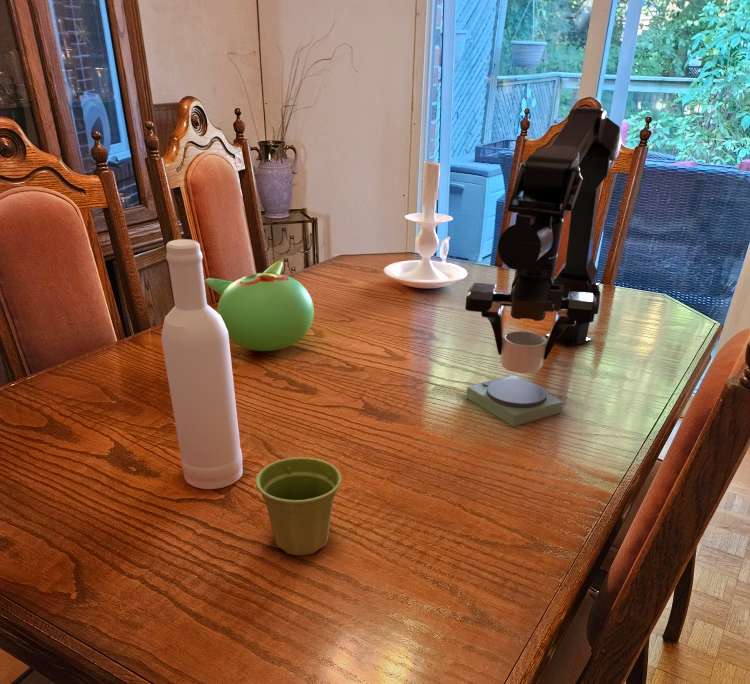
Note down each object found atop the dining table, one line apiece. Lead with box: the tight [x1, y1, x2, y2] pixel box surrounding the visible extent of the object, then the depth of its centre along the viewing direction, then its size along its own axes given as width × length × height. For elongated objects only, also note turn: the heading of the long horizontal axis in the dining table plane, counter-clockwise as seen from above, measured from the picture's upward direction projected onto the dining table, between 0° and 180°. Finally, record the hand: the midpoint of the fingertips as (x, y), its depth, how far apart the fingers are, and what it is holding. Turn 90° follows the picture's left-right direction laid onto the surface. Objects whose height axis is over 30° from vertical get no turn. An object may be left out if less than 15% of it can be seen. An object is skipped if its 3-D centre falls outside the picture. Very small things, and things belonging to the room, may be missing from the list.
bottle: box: [160, 238, 244, 490], centre depth 81 cm, size 8×8×30 cm
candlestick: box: [383, 158, 468, 289], centre depth 160 cm, size 21×25×28 cm
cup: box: [499, 330, 548, 374], centre depth 104 cm, size 7×7×4 cm
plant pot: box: [255, 456, 342, 556], centre depth 76 cm, size 9×9×9 cm
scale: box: [465, 374, 563, 428], centre depth 109 cm, size 12×10×3 cm
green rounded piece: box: [204, 260, 315, 352], centre depth 125 cm, size 18×17×15 cm
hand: (522, 356), depth 104 cm, fingers closed on cup, 7 cm apart
